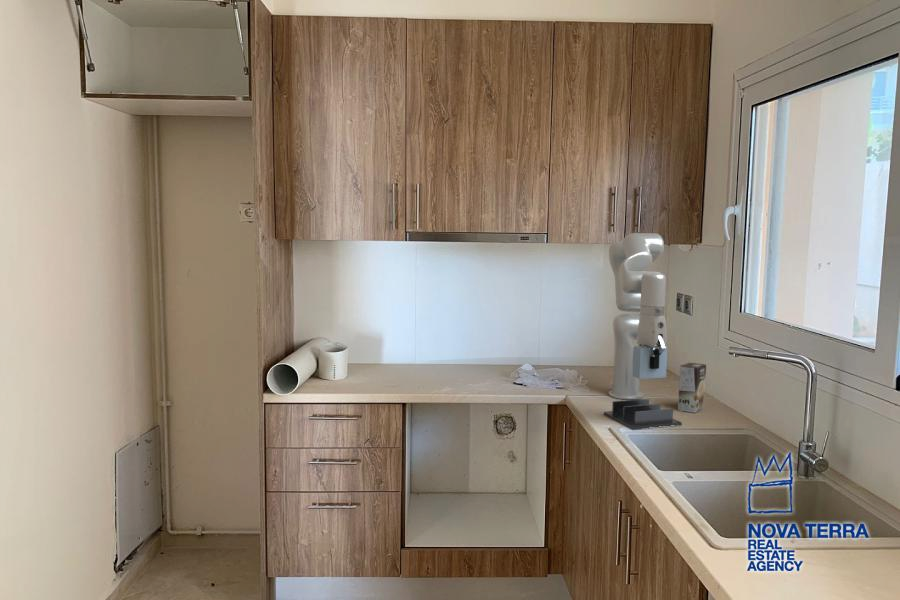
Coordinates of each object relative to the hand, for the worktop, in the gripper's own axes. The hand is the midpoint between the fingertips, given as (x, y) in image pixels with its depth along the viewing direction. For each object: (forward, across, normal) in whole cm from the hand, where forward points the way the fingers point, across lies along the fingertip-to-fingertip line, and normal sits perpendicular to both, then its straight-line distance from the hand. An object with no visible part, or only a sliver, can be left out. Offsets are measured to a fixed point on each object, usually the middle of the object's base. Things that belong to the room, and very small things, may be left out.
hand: (649, 366), depth 207 cm
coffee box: (+19, +10, -25) cm, 33 cm away
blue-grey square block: (+3, 0, 0) cm, 3 cm away
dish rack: (+19, +4, 0) cm, 19 cm away
